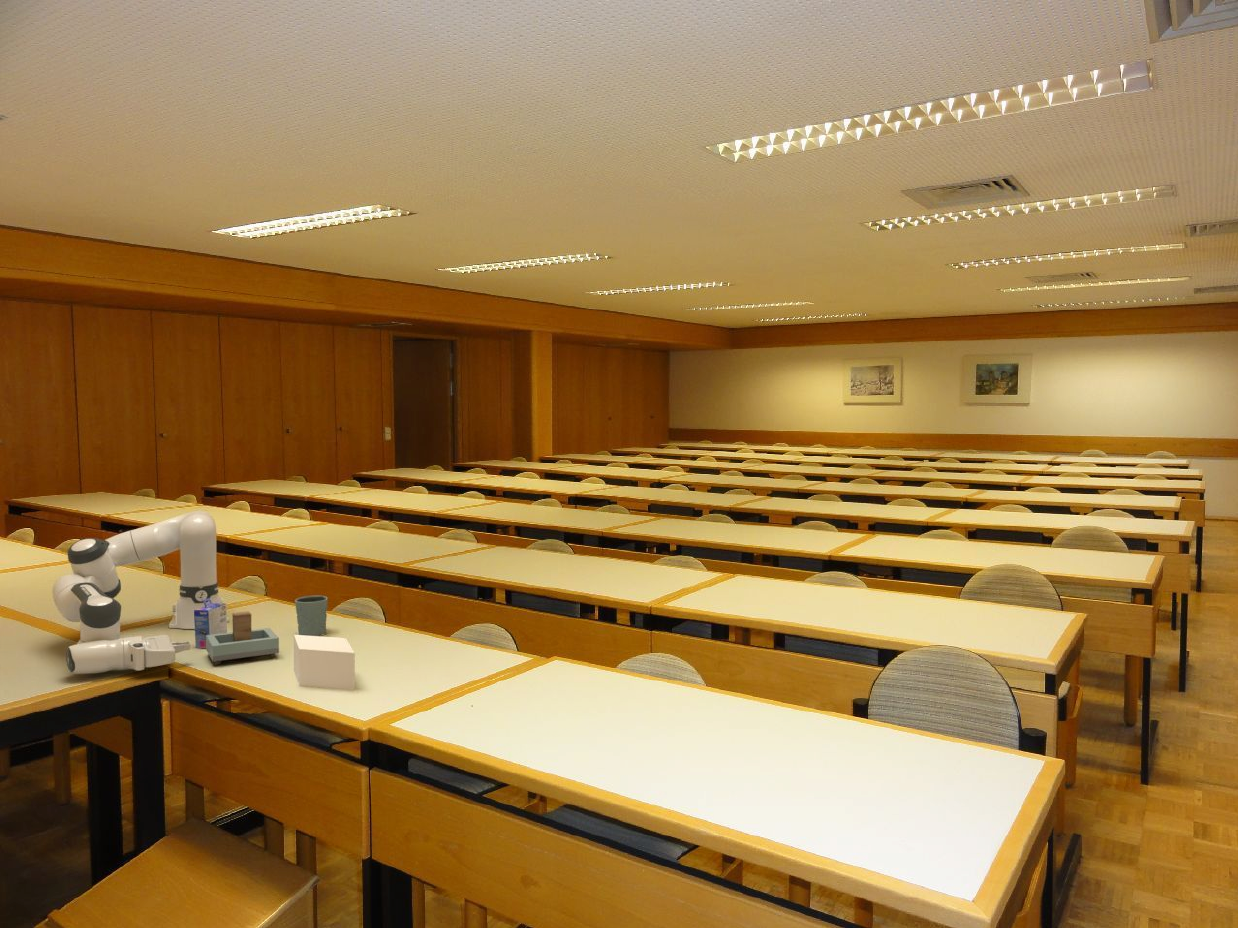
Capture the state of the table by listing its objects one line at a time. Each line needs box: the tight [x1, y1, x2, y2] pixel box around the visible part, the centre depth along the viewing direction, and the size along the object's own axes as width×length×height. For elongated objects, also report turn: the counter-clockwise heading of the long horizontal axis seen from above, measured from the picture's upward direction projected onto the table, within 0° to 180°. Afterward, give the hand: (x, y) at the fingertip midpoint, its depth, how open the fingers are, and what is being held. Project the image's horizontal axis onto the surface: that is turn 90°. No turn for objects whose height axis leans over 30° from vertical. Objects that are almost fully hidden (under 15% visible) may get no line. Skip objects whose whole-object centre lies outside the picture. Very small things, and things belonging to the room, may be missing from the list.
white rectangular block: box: [293, 634, 356, 691], centre depth 232 cm, size 14×29×10 cm, turn 53°
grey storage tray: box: [205, 627, 280, 666], centre depth 252 cm, size 14×18×6 cm
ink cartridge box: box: [194, 598, 228, 649], centre depth 265 cm, size 10×6×14 cm, turn 174°
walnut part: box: [232, 611, 252, 642], centre depth 252 cm, size 4×4×10 cm
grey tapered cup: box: [294, 595, 328, 636], centre depth 279 cm, size 10×10×12 cm
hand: (189, 645), depth 244 cm, fingers closed
